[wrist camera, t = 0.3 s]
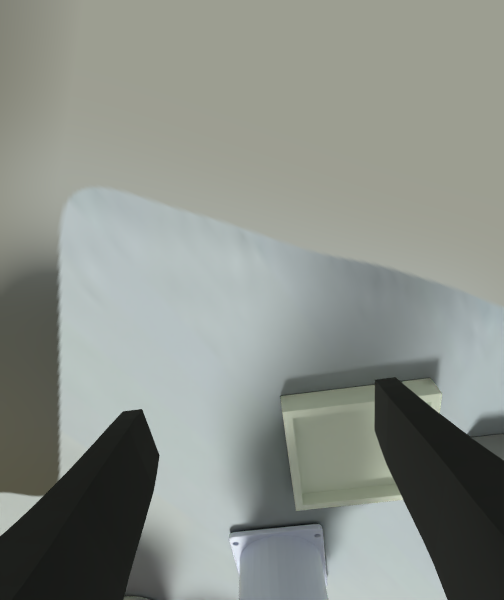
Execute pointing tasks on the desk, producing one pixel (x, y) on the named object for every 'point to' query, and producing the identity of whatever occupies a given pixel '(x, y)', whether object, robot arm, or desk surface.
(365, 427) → the tray
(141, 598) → the soda can
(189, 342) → the desk surface
